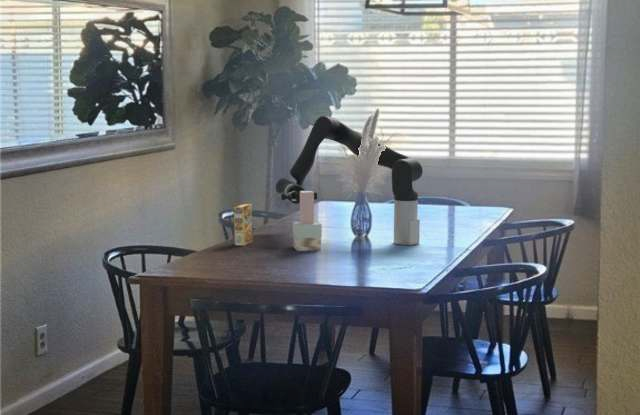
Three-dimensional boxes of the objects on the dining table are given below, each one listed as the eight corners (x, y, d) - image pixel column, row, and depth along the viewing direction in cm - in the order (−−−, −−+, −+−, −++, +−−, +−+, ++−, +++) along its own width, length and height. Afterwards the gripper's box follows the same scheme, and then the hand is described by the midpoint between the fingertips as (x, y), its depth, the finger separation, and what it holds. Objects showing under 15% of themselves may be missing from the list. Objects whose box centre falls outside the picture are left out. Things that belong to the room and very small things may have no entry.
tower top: (315, 233, 368) (315, 220, 367) (321, 237, 359) (321, 224, 359) (292, 234, 366) (292, 221, 365) (298, 238, 357) (298, 225, 356)
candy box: (244, 246, 369) (243, 206, 367) (234, 245, 370) (233, 206, 368) (252, 242, 377) (252, 204, 375) (242, 241, 378) (242, 203, 376)
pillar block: (311, 221, 364) (311, 190, 363) (313, 223, 360) (313, 192, 358) (299, 222, 364) (299, 191, 362) (302, 224, 359) (302, 192, 358)
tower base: (316, 246, 369) (316, 233, 368) (320, 250, 360) (320, 237, 359) (293, 247, 367) (293, 234, 366) (297, 251, 358) (297, 238, 358)
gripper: (277, 184, 385) (283, 188, 369) (312, 183, 388) (319, 188, 372) (277, 202, 386) (283, 208, 370) (312, 202, 389) (319, 207, 373)
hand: (301, 198), depth 371 cm, fingers open, 8 cm apart
